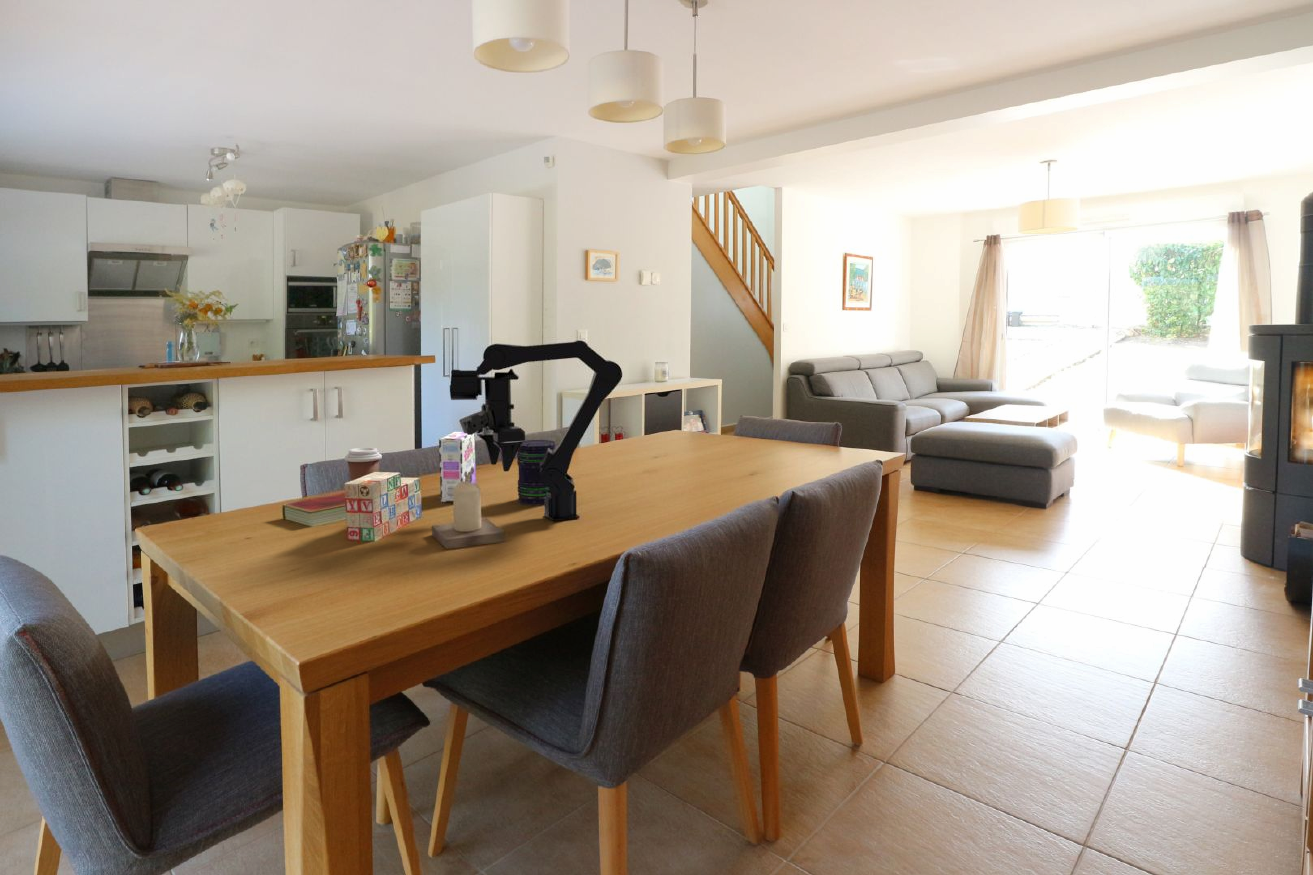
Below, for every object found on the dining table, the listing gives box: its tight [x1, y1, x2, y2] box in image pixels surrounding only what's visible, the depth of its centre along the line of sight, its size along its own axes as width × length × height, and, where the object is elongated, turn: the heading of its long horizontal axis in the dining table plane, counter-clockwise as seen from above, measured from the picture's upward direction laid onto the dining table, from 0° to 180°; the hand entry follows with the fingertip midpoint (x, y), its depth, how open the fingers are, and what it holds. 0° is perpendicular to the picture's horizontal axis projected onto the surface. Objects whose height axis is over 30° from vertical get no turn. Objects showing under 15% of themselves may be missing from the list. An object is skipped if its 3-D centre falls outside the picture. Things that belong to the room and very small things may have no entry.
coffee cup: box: [344, 446, 383, 482], centre depth 197 cm, size 9×9×12 cm
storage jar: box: [516, 439, 557, 506], centre depth 191 cm, size 10×10×15 cm
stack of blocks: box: [344, 471, 423, 542], centre depth 165 cm, size 21×6×12 cm, turn 171°
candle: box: [452, 481, 482, 532], centre depth 157 cm, size 6×6×10 cm
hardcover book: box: [281, 492, 346, 528], centre depth 178 cm, size 12×21×4 cm, turn 144°
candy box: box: [438, 431, 477, 503], centre depth 195 cm, size 14×6×16 cm, turn 179°
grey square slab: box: [431, 518, 506, 550], centre depth 158 cm, size 12×12×2 cm
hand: (499, 467), depth 172 cm, fingers open, 9 cm apart
